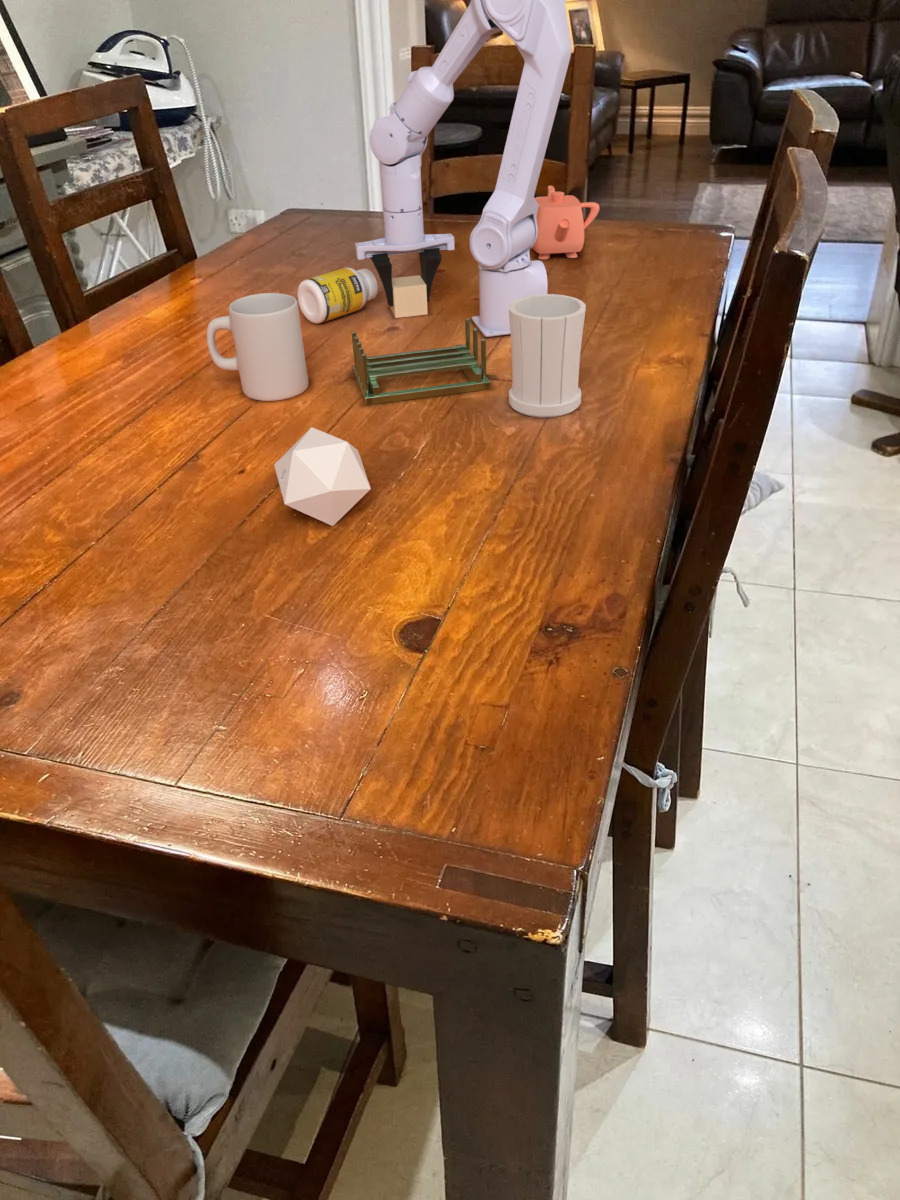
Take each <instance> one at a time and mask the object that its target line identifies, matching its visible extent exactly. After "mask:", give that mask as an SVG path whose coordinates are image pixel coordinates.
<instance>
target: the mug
mask: <svg viewBox="0 0 900 1200" xmlns="http://www.w3.org/2000/svg"><path fill="white" fill-rule="evenodd" d="M220 330H224V331H225V330H226V331H229V332H231V335H232V339H233V345H234V349H235V356H233V357H229V358H228V357H224V356H223V355H221V353H220V352H219V350H218V347H217V344H216V334H217V332H218V331H220ZM206 343H207V348H208V352H209V355H210V358H211V360H212V361H213V363H214V365H215V366H216V367H218V368H219V369H220V370H223V371H231V372H238V373H239V374H238V375H239V380H240V384H241V389H242V392H243V394H244V395H245V396H246V397H247V398H249V399H251V400H256V401H261V402H277V401H283V400H287V399H291V398H295V397H296V396H299V395H301V394H303V393H304V392H305V391H306V390H307V389H308V388H309V384H310V383H309V375H308V374H309V373H308V368H307V362H306V354H305V348H304V339H303V332H302V325H301V319H300V310H299V302H298V299H297V298H295V296H293V295H290V294H287V293H280V292H264V293H263V292H262V293H255V294H250V295H245V296H243V297H239V298H237V299H235V300H233V301H232V302H231V303H230V304H229V306H228V315H223V316H218V317H215V318H213V319H212V320H210V322H209V323H208V325H207V328H206Z"/></svg>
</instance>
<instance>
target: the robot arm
mask: <svg viewBox="0 0 900 1200" xmlns="http://www.w3.org/2000/svg"><path fill="white" fill-rule="evenodd" d="M566 1H567V0H470V2H469V4H468V6H467V8H466V9H465V11H464V13H463V15H462V16H461V18H460V19H459V20H458V23H457V25H455V28H454V29H453V31H452V32H451V34H450V36H449V38H448V39H447V41H446V43H445V44H444V46H443V47H442V49H441V51H440V52H439V54H438V56H437V58H436V59H435V60H434V62H433V64H432V66H422V67H420V68H418V70H414V71H411V72H410V73H409V75H408V76H407V77H406V81H407V82H408V84H407V86H406V88H405V89H404V91H403V92H402V93H401V95H400V96H399V98H398V99H397V101H394V102H392V103H391V104H390V106H389V107H388V110H389V115H388V116H383V117H380V118H378V119H376V120H375V121H374V122H373V125H372V128H371V129H370V133H369V146H370V150H371V152H372V154H373V155H374V157H375V159H376V160H377V161H378V162H379V175H380V176H379V177H380V187H381V189H380V190H381V199H382V200H381V202H382V214H383V215H382V216H383V229H384V237H381V238H376V239H371V240H367V241H362V242H355V243H354V247H355V248H354V249H355V250H354V251H355V257H356V259H357V260H358V261H361V260H365V259H370V261H371V262H372V264H373V266H374V268H375V270H376V272H377V274H378V277H379V278H380V281H381V283H382V287H383V290H384V293H385V297H386V302H387V304H388V307H389V308H390V307H391V306H393V289H392V278H393V265H392V263H391V259H390V257H389V256H396V255H408V254H417V253H418V255H419V264H420V274H421V275H420V276H421V278H422V279H423V281H424V282H425V284H426V290H427V303H430V297H431V290H432V286H433V283H434V279H435V276H436V274H437V271H438V269H439V267H440V265H441V263H442V254H441V252H440V251H444V250H445V251H446V250H447V251H455V247H456V246H455V236H454V235H453V234H452V233H434V234H433V233H427V234H426V233H425V230H424V229H425V228H424V211H423V209H424V208H423V190H422V171H421V169H422V156H423V153H424V152H425V150H426V148H427V146H428V139H429V138H428V137H429V136H428V135H429V134H430V133H431V131H432V130H433V128H434V127H435V125H436V124H437V123H438V121H439V120H440V119H441V118H442V116H443V114H444V113H445V112H446V110H448V107H449V106H450V105H451V104H452V102H453V101H454V97H455V92H454V83H455V82H456V80H457V79H458V78H459V77H460V75H461V74H462V73H463V71H464V70H465V69H466V68H467V66H468V65H469V64H470V63H471V61H472V60H474V57H476V55H477V54H478V52H479V51H480V50H481V49H482V48H483V46H484V45H485V43H486V42H487V41H488V40H489V39H490V37H491V36H493V35H494V34H497V33H500V32H503V33H504V35H506V36H507V37H508V38H509V39H510V40H511V41H512V42H513V43H514V45H515V46H516V48H517V50H518V51H519V53H520V55H521V57H522V59H523V62H524V63H523V67H522V72H521V76H520V81H519V85H518V89H517V94H516V98H515V103H514V106H513V110H512V115H511V120H510V122H509V123H510V124H509V127H508V132H507V136H506V141H505V145H504V150H503V153H502V157H501V161H500V166H499V167H500V168H499V170H498V175H497V179H496V184H495V188H494V191H493V192H492V194H491V196H490V197H489V199H488V201H487V202H486V203H485V205H484V207H483V209H482V212H481V217H480V219H479V221H478V223H477V224H476V225H475V226H474V228H473V229H472V231H471V233H470V236H469V251H470V253H471V256H472V257H473V259H474V260H475V262H477V264H478V265H477V266H478V296H479V298H478V299H479V304H478V305H479V315H474V316H472V317H471V321H473V323H474V325H475V326H476V328H477V329H478V330H479V331H480V332H481V333H482V335H483V336H484V337H486V338H490V337H498V336H499V337H500V336H506V335H511V332H510V320H509V305H510V304H511V303H512V302H513V301H515V300H517V299H519V298H522V297H526V296H530V295H539V294H549V293H548V290H549V289H548V287H549V285H548V282H549V281H548V275H547V268H546V266H545V264H544V262H543V261H542V260H540V259H536V260H531V257H530V256H531V255H530V254H531V251H530V250H531V249H533V248H532V247H533V245H534V244H535V242H536V240H537V236H538V226H537V212H538V208H539V205H538V203H537V201H536V200H535V198H536V197H535V194H536V191H537V186H538V182H539V179H540V174H541V171H542V168H543V163H544V159H545V156H546V153H547V152H546V151H547V148H548V144H549V140H550V136H551V132H552V129H553V126H554V121H555V117H556V114H557V109H558V106H559V102H560V98H561V94H562V92H563V91H562V90H563V87H564V83H565V79H566V76H567V72H568V68H569V64H570V61H571V55H572V42H571V36H570V35H571V34H570V28H569V20H568V16H567V8H566V3H567V2H566Z"/></svg>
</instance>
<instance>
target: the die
mask: <svg viewBox="0 0 900 1200" xmlns="http://www.w3.org/2000/svg"><path fill="white" fill-rule="evenodd" d="M273 466H274V469H275V474H276V477H277V481H278V483H279V484H278V485H279V490H280V492H281V496H282V500H283V503H284V505H285V506H286V507H290V508H292V509H294V510H296V511H297V512H301V513H303V514H304V515H307V516H309V517H311V518H314V519H316V520H318V521H320V522H323V523H325V524H327V525H329V526H331V527H333V526H335V525H336V524H337V523H338V522H339V521H340V520H341V519H342V518H343V517H344V516H345V515H346V514H347V513H348V512H349V511H350V510H351V509H352V508H354V506H355V505H356V504H357V503H359V501H360V500H361V499H362V498H363V497H364V496H365V495H366V494H367V493H369V491H370V490H372V488H371V485H370V482H369V480H368V476H367V473H366V470H365V467H364V465H363V460H362V458H361V456H360V451H359V450H358V449H357V448H356V447H355V446H353V445H352V444H351V443H350V442H349V441H346V440H345V439H342V438H339V437H337V436H335V435H332V434H330V433H327V432H325V431H323V430H320V429H317V428H315V427H312V426H311V427H310V428H309V429H308V430H307V431H306V432H305V433H304V434H303V435H302V436H301V437H300V438H299V439H298V440H297V441H296V442H295V443H294V444H293V445H292V446H291V447H290V448H289V449H288V450H286V452H285V453H284V454H283V455H282V456H281V457H279V459H278V460H277V461H276V462H275V463H274V464H273Z"/></svg>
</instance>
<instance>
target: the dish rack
mask: <svg viewBox="0 0 900 1200" xmlns="http://www.w3.org/2000/svg"><path fill="white" fill-rule="evenodd" d="M464 327H465V331H464V332H465V334H464V335H465V344H461V343H460V344H455V345H454V346H453V345H452V346H445V347H437V348H428V349H422V350H414V351H413V350H412V351H405V352H396V353H388V354H379V355H371V356H367V353H365V349H364V347H362V341H360V338H359V336H357V331H354V330H353V331H351V342H352V352H353V361H354V365H351V368H352V369H351V370H352V374H353V376H354V378H355V380H356V382H357V385H358V387H359V390H360V392H361V394H362V396H363V397H362V398H363V399H364V404H365V406H371V405H373V406H374V405H380V404H387V403H394V402H395V403H396V402H402V401H409V400H416V399H417V400H418V399H426V398H433V397H441V396H450V395H455V394H463V393H464V394H465V393H471V392H479V391H480V392H481V391H487V390H491V389H492V381H491V380H490V379H489V378H488V377H487V342H486V341H487V339H485V338H482V339H480V361H481V362H480V364H481V367H480V366H479V338H478V336H479V335H478V330H479V328H478V327H473V328H472V351H473V352H472V354H473V355H472V354H471V319H470V318H469V317H466V318H465V319H464ZM458 370H462V371H463V373H464V374H465V376H466V377H467V379H468V380H469V381H463V382H456V383H448V384H440V385H432V386H424V387H417V388H408V389H400V390H392V391H384V392H381V389H380V385H379V383H378V381H379V380H387V379H395V378H403V377H404V378H405V377H411V376H418V375H427V374H434V373H442V372H443V373H444V372H450V371H451V372H452V371H458Z"/></svg>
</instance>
